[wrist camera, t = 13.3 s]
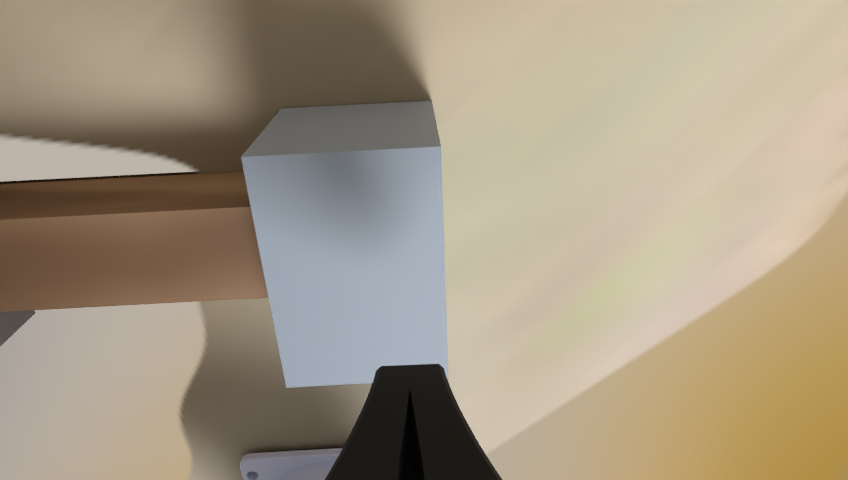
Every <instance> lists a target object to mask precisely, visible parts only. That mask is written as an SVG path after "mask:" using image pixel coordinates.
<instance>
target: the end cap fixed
mask: <svg viewBox="0 0 848 480" xmlns="http://www.w3.org/2000/svg"><path fill="white" fill-rule="evenodd" d="M34 314H35V311H34V310H26V311H7V312H0V346H1V345H2V344H3V343H4V342H5V341H6V340H7V339H8V338H9V337H10V336H12V335H13V334H14V333H15V332H16V331H17V330H18V329H19V328H20V327H21V326H22V325H23V324H24V323H25V322H26V321H27V320H28V319H29V318H30V317H31V316H32V315H34Z"/></svg>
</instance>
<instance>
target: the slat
mask: <svg viewBox="0 0 848 480" xmlns="http://www.w3.org/2000/svg"><path fill="white" fill-rule="evenodd" d="M266 297H268V293H267V288H266V282H265V277H264V272H263V267H262V262H261V257H260V252H259V247H258V242H257V237H256V232H255V226H254V221H253V216H252V211H251V206H250V201H249V196H248V191H247V186H246V181H245V176H244V172H227V173H208V174H198V173H197V172H179V173H178V172H177V173H159V174H139V175H120V176H101V177H83V178H61V179H42V180H23V181H3V182H0V312H7V311H26V310H42V309H43V310H44V309H62V308H81V307H99V306H118V305H136V304H154V303H173V302H191V301H210V300H229V299H247V298H266Z"/></svg>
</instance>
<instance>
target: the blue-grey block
mask: <svg viewBox="0 0 848 480" xmlns="http://www.w3.org/2000/svg"><path fill="white" fill-rule="evenodd" d="M241 160H242V165H243V171H244V176H245V181H246V186H247V191H248V196H249V201H250V206H251V211H252V216H253V221H254V226H255V232H256V237H257V242H258V247H259V252H260V257H261V262H262V267H263V272H264V277H265V282H266V288H267V293H268V298H269V303H270V308H271V313H272V318H273V323H274V328H275V333H276V338H277V344H278V349H279V354H280V359H281V364H282V369H283V374H284V379H285V384H286V388H293V387H310V386H328V385H345V384H363V383H373V380H374V377H375V373H376V370H377V369H378V368H380V367H381V366H396V365H420V364H440V365H441V366H442V367H443V368H444V370H445V374H446V377H447V379H448V354H447V323H446V292H445V261H444V230H443V199H442V168H441V145H440V140H439V135H438V130H437V125H436V120H435V115H434V110H433V105H432V100H431V101H412V102H393V103H374V104H355V105H335V106H316V107H297V108H281V109H280V110H279V112H278V113H277V114H276V115H275V116H274V118H273V119H272V120H271V121H270V123H269V124H268V125H267V126H266V127H265V129H264V130H263V131H262V132H261V133H260V135H259V136H258V137H257V138H256V139H255V141H254V142H253V143H252V144H251V145H250V147H249V148H248V149H247V150H246V151H245V153H244V154H243V155H242V156H241Z"/></svg>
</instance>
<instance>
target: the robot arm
mask: <svg viewBox="0 0 848 480" xmlns="http://www.w3.org/2000/svg"><path fill="white" fill-rule="evenodd" d="M240 471H241V475H242V478H243V480H502V479H501V477H500V476H499V474H498V473H497V471H496V470H495V468H494V467H493V465H492V464H491V462H490V461H489V459H488V458H487V456H486V455H485V453H484V451H483V450H482V448H481V446H480V445H479V443H478V441H477V440H476V438H475V436H474V434H473V433H472V431H471V429H470V427H469V425H468V424H467V422H466V420H465V418H464V416H463V414H462V412H461V410H460V408H459V406H458V404H457V402H456V400H455V398H454V396H453V393H452V391H451V388H450V386H449V383H448V380H447V377H446V374H445V370H444V368H443V367H442V366H441V365H440V364H420V365H396V366H381V367H380V368H378V369H377V370H376V373H375V377H374V380H373V383H372V386H371V389H370V392H369V394H368V397H367V399H366V402H365V404H364V406H363V409H362V411H361V413H360V415H359V417H358V419H357V422H356V424H355V426H354V428H353V430H352V432H351V434H350V436H349V438H348V440H347V442H346V444H345V445H344V447H343V448H334V449H317V450H300V451H282V452H265V453H250V454H246V455H244V456H243V457H242V459H241V462H240ZM251 471H253V472H251ZM254 472H256V473H254Z"/></svg>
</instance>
